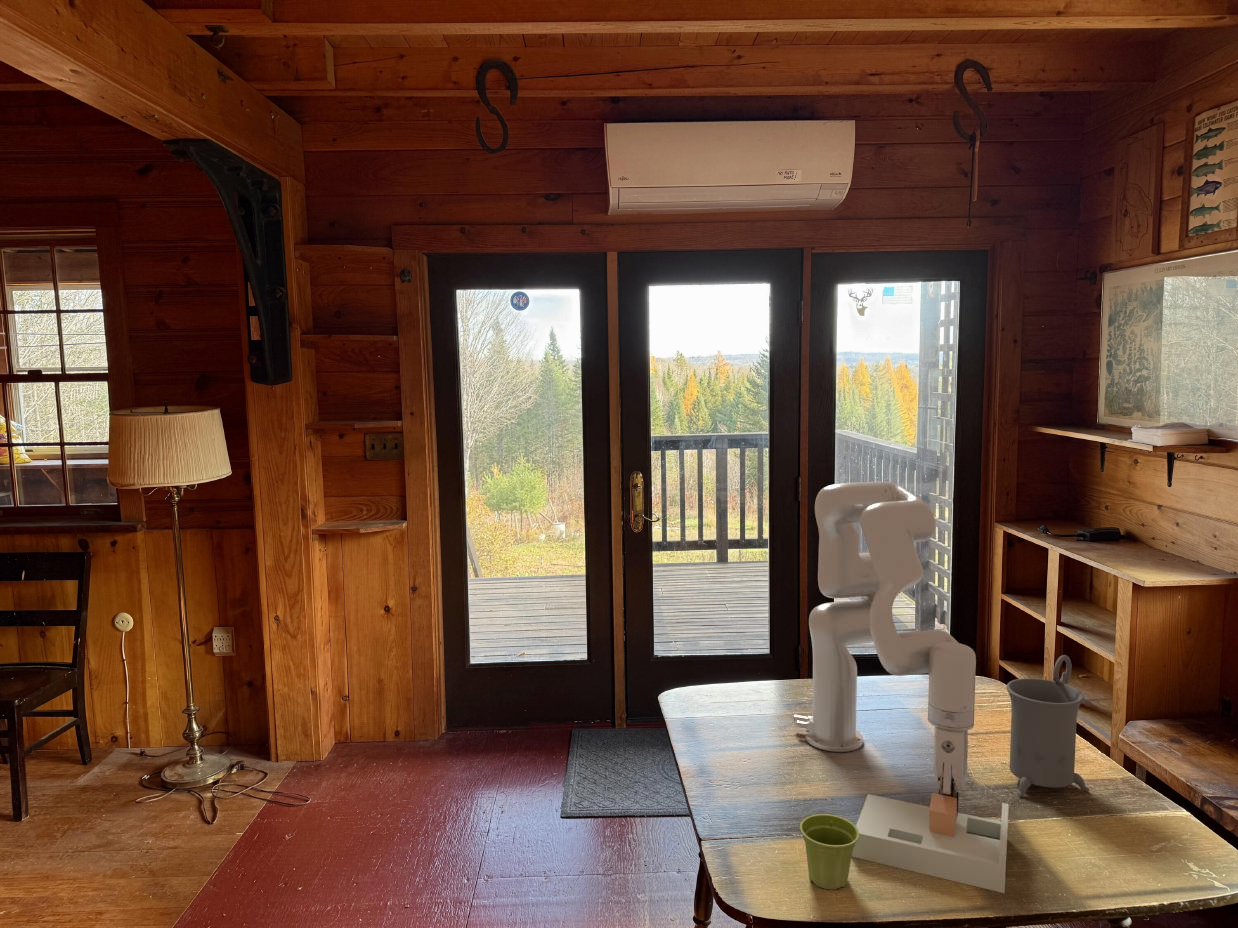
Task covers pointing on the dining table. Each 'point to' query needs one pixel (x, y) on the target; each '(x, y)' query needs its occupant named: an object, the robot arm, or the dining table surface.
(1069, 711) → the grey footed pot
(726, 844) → the dining table surface
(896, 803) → the tray
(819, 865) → the plant pot
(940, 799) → the block
